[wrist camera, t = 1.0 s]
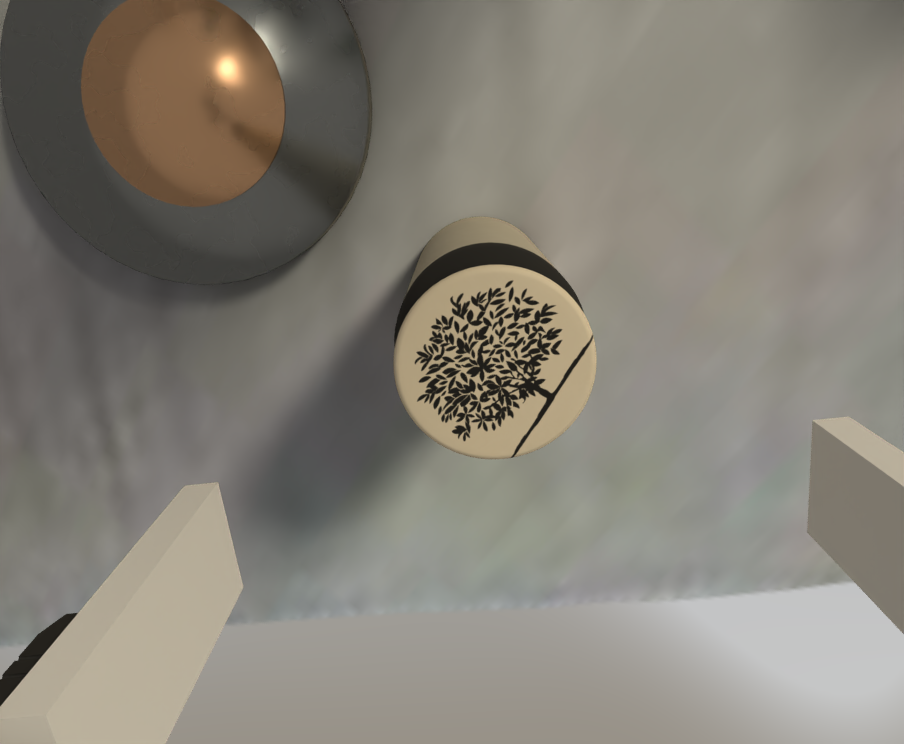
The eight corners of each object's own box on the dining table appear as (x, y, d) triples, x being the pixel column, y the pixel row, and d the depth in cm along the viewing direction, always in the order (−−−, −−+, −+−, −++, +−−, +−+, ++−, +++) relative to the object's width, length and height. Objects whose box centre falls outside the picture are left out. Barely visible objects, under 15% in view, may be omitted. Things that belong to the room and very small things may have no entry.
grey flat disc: (340, -121, 35) (333, -140, 33) (395, 259, 41) (391, 264, 39) (-26, -69, 36) (-58, -84, 34) (79, 295, 42) (58, 303, 40)
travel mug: (389, 291, 42) (343, 384, 25) (469, 188, 40) (479, 211, 23) (488, 367, 43) (508, 504, 26) (570, 271, 42) (649, 351, 24)
